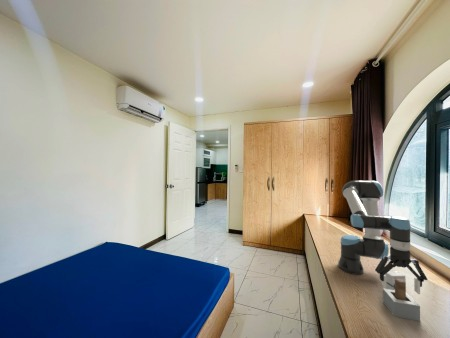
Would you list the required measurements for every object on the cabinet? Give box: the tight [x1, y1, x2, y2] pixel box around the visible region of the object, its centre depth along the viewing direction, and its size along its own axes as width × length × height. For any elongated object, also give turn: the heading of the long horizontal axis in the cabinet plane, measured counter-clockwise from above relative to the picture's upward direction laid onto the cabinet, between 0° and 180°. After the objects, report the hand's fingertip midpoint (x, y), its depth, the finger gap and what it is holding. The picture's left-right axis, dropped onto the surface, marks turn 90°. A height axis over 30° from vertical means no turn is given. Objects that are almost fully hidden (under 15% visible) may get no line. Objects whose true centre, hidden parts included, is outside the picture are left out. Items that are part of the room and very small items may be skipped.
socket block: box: [382, 287, 421, 322], centre depth 91 cm, size 10×10×7 cm
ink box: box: [385, 270, 407, 290], centre depth 104 cm, size 9×5×12 cm, turn 92°
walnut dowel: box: [395, 279, 407, 301], centre depth 91 cm, size 4×4×15 cm
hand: (400, 289), depth 92 cm, fingers open, 13 cm apart
